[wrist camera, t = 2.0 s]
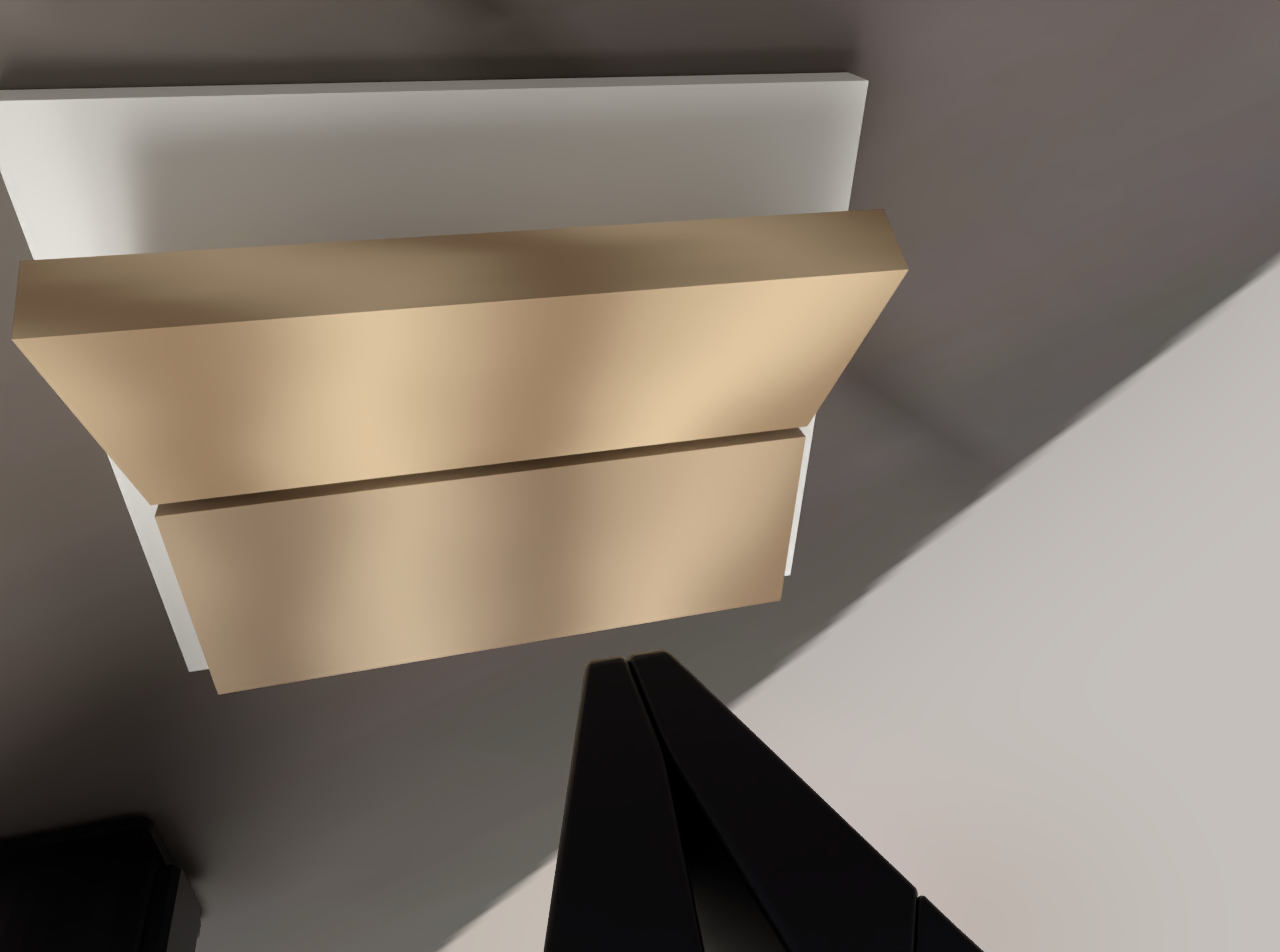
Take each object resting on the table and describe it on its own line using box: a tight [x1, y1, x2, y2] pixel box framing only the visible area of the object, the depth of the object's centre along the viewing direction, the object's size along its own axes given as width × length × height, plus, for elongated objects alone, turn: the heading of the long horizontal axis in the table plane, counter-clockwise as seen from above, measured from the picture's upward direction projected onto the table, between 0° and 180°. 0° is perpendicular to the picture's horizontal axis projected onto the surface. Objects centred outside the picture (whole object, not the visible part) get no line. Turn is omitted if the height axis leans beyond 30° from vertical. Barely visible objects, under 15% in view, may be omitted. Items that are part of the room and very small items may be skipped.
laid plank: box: [155, 428, 806, 695], centre depth 22 cm, size 15×6×2 cm, turn 88°
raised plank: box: [12, 209, 909, 505], centre depth 18 cm, size 15×6×2 cm, turn 88°
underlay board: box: [0, 72, 868, 672], centre depth 21 cm, size 17×14×1 cm
